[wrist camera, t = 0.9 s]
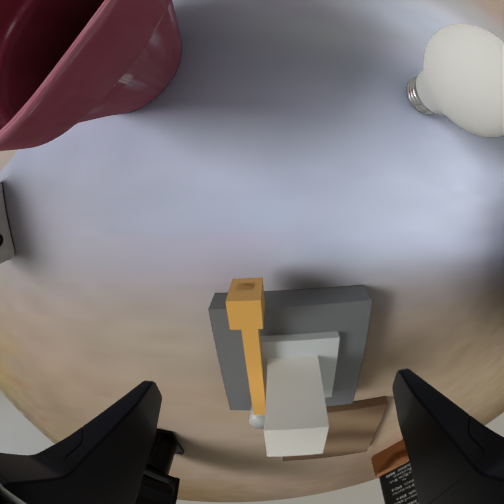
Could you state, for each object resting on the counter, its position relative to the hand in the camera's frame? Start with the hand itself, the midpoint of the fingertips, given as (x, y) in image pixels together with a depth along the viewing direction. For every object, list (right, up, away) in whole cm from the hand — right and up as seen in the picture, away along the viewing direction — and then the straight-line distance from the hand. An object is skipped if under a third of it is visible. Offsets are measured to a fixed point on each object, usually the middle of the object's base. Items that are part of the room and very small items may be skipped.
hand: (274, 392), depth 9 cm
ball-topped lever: (0, -4, +12) cm, 13 cm away
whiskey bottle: (+25, -28, +22) cm, 43 cm away
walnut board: (+9, -17, +19) cm, 28 cm away
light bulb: (+12, +17, +7) cm, 22 cm away
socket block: (+3, -4, +15) cm, 15 cm away
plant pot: (-10, +20, +7) cm, 24 cm away
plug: (+3, -4, +15) cm, 15 cm away
